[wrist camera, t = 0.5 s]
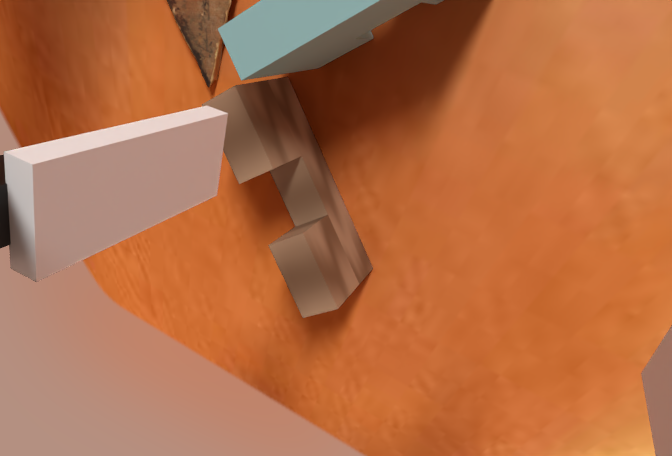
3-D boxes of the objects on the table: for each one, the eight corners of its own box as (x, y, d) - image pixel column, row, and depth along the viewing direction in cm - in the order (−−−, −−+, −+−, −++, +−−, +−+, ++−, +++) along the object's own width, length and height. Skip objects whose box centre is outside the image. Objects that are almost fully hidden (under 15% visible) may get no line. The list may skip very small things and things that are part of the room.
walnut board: (257, 93, 41) (201, 104, 35) (288, 76, 39) (234, 85, 33) (341, 277, 43) (302, 318, 37) (373, 268, 42) (338, 309, 36)
